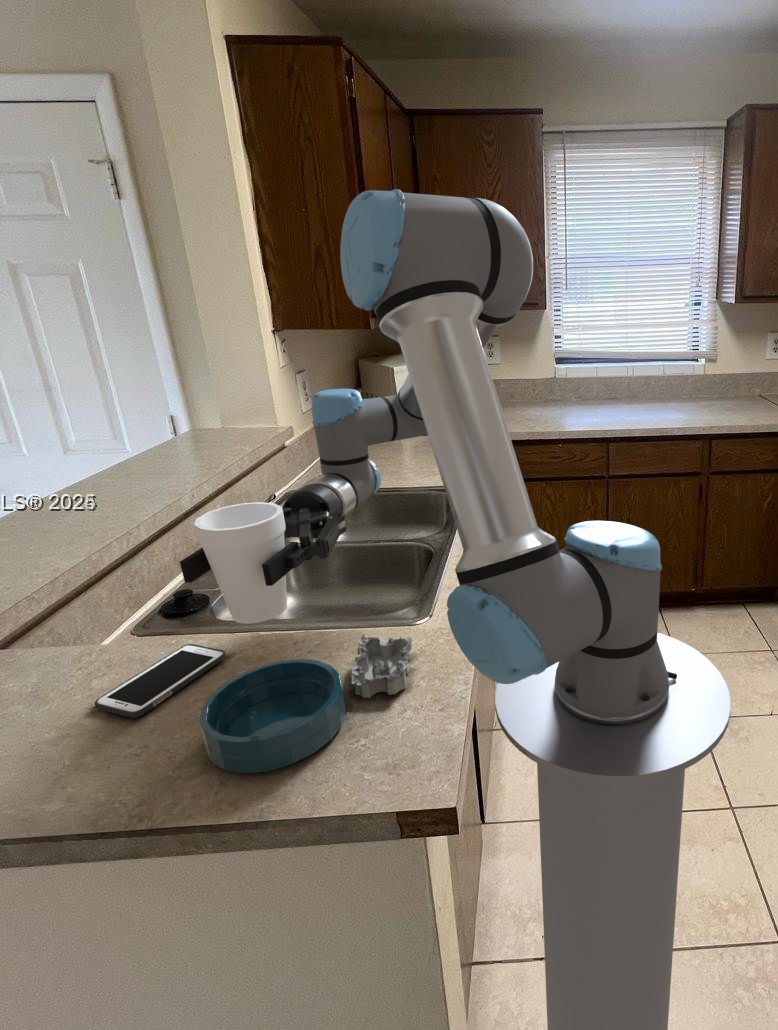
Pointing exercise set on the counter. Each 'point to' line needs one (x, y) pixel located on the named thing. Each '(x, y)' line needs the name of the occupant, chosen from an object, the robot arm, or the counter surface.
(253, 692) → the bowl
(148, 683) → the cell phone
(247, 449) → the counter surface
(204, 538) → the foam cup
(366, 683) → the egg carton
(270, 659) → the counter surface
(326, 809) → the counter surface
